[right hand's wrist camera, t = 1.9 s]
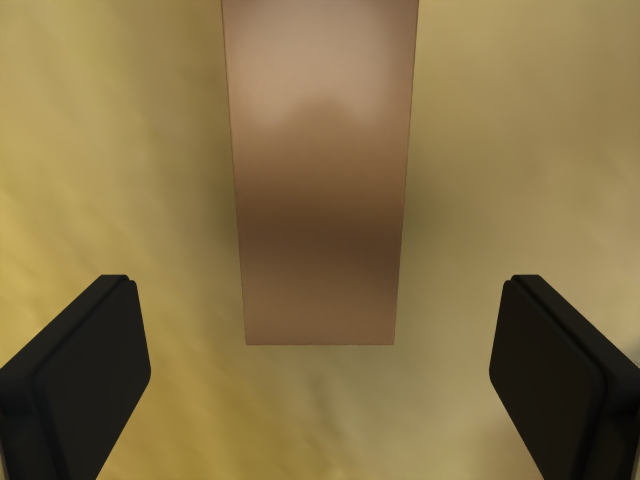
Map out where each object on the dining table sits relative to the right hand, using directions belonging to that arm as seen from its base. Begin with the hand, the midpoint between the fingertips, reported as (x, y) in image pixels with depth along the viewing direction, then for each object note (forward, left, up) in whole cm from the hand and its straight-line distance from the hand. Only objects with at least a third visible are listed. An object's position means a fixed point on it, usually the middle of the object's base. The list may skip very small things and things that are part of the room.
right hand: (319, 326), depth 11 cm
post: (+25, 0, -13) cm, 28 cm away
